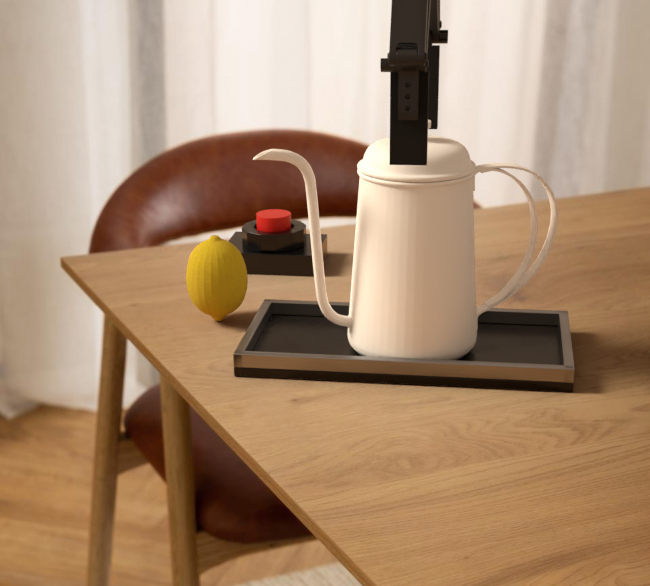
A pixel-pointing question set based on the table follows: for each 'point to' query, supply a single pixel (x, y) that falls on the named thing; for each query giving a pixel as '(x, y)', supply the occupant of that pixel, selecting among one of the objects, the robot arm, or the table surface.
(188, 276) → the lemon
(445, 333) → the coffeepot
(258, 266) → the button box
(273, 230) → the button
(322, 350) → the drip pan
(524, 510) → the table surface
